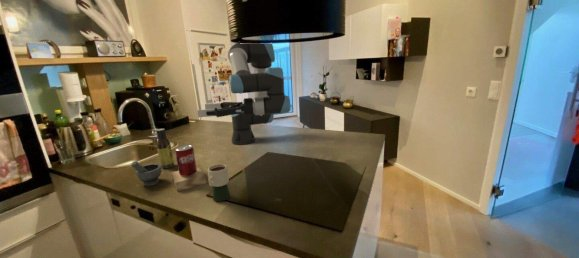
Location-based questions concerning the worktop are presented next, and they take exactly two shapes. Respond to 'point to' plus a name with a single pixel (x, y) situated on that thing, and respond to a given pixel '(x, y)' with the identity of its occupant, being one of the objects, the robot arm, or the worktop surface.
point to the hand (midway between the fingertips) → (201, 110)
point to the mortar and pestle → (147, 173)
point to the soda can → (186, 160)
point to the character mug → (219, 181)
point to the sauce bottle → (164, 150)
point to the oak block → (189, 179)
